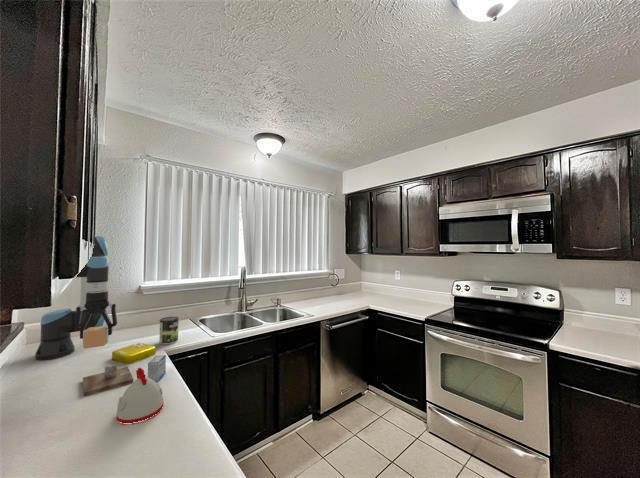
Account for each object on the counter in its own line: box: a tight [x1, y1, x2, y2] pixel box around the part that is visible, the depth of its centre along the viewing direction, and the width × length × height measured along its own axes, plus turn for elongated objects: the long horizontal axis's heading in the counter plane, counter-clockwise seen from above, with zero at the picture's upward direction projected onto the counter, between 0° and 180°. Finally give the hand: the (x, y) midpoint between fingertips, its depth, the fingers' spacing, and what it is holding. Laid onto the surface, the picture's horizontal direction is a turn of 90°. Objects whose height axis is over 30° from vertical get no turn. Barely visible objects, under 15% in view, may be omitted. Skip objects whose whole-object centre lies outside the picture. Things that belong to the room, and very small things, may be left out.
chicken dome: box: [116, 367, 164, 423], centre depth 96 cm, size 14×14×15 cm
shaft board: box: [82, 363, 134, 397], centre depth 116 cm, size 16×16×6 cm
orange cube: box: [82, 325, 108, 350], centre depth 117 cm, size 7×7×7 cm
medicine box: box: [147, 354, 167, 383], centre depth 120 cm, size 8×4×9 cm, turn 9°
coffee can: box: [159, 316, 180, 345], centre depth 165 cm, size 10×10×14 cm
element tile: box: [111, 342, 156, 365], centre depth 143 cm, size 15×15×5 cm
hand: (96, 344), depth 117 cm, fingers closed on orange cube, 7 cm apart
